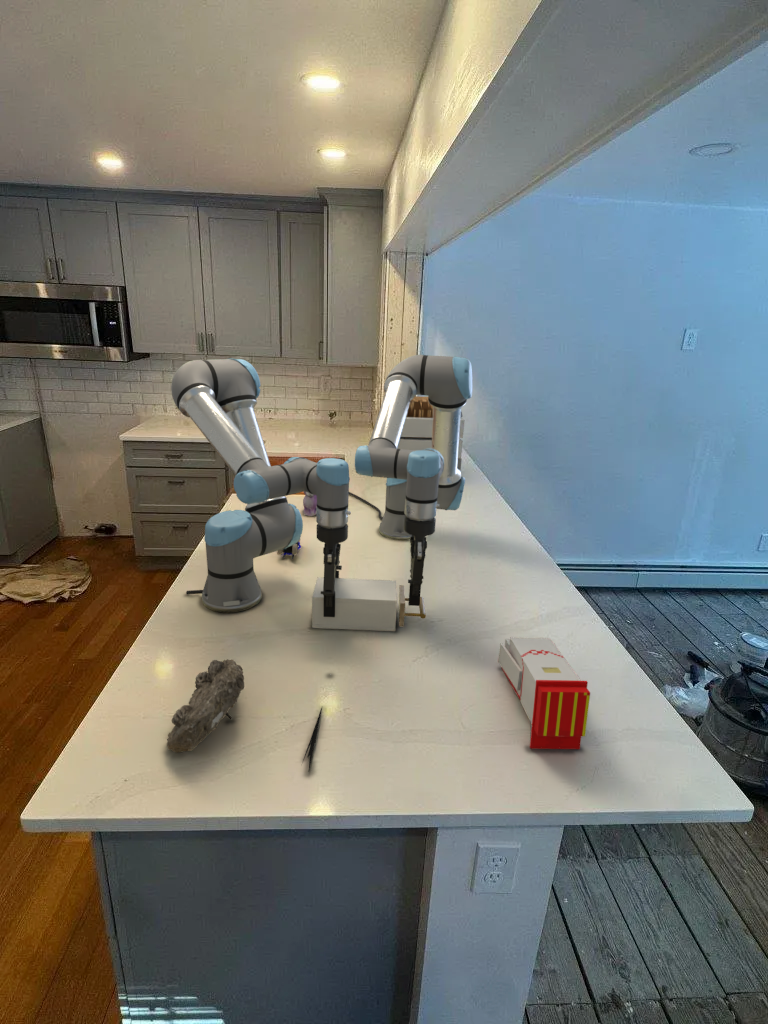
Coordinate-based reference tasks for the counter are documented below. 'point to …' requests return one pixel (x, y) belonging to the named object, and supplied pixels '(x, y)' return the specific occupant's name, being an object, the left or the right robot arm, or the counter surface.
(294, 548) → the figurine character
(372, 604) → the cabinet
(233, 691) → the fossil
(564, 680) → the toy
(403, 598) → the drawer
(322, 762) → the counter surface
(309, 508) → the figurine
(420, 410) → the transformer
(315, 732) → the feather
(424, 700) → the counter surface
